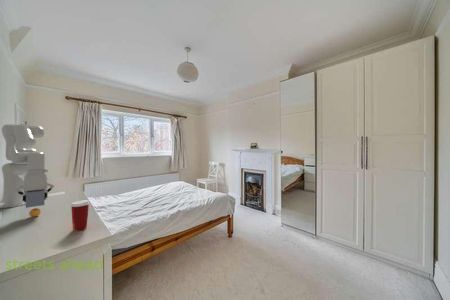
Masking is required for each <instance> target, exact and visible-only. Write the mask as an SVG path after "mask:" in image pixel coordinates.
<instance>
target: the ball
mask: <svg viewBox="0 0 450 300" xmlns="http://www.w3.org/2000/svg"><path fill="white" fill-rule="evenodd" d="M41 213H42V210H41V209H40V208H38V207H37V208H36V207H34V208H32V209H31V210H29V212H28V214H29V216H30V217H31V218H36V217H38V216H39V215H40V214H41Z"/></svg>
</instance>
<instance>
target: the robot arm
mask: <svg viewBox="0 0 450 300" xmlns="http://www.w3.org/2000/svg"><path fill="white" fill-rule="evenodd" d="M1 133H2V137H4V140H5V158H6V160H8V161H11V162H8V163H5V164H3V165H2V166H1V172H2V179H3V202H2V204H1V205H0V208H1V209H8V208H9V209H10V208H15V207H20V206H24V205H26V192H28V191H37V190H45V199H44V201H45V200H46V199H47V198H48V193H49V192H50V191H52V190H53V188H54V187H55V185H54V184H51V183H49V182H48V177H47V173H48V171H49V170H48V169H45V164H46V163H45V157H46V156H45V153H44V152H42V151H37V149H35V148H31V147H32V146H34V145H36V142H37V141H36V138H37V139H38V138H40V139H41V138H43V137H44V135H45V130H44V128H43V127H42V126H40V125H32V124H13V123H12V124H4V125H2V128H1ZM20 176H24V177H23V178H21V177H20ZM48 187H49V188H48ZM47 188H48V189H47Z"/></svg>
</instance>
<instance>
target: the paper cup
mask: <svg viewBox="0 0 450 300" xmlns="http://www.w3.org/2000/svg"><path fill="white" fill-rule="evenodd" d="M89 205H90V201H89V200H87V199H83V200H77V201H73V202H71V204H70V207H71V220H72V221H71V222H72V223H71V224H72V231H73V232H81V231H83V230H86V229H87V228H88V217H89V207H90V206H89Z"/></svg>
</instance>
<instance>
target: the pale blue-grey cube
mask: <svg viewBox="0 0 450 300" xmlns="http://www.w3.org/2000/svg"><path fill="white" fill-rule="evenodd" d="M44 199H45V190H37V191H28V192H26V204H25V209H26V208H32V207H33V208H36V207H40V206H45V200H44Z"/></svg>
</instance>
